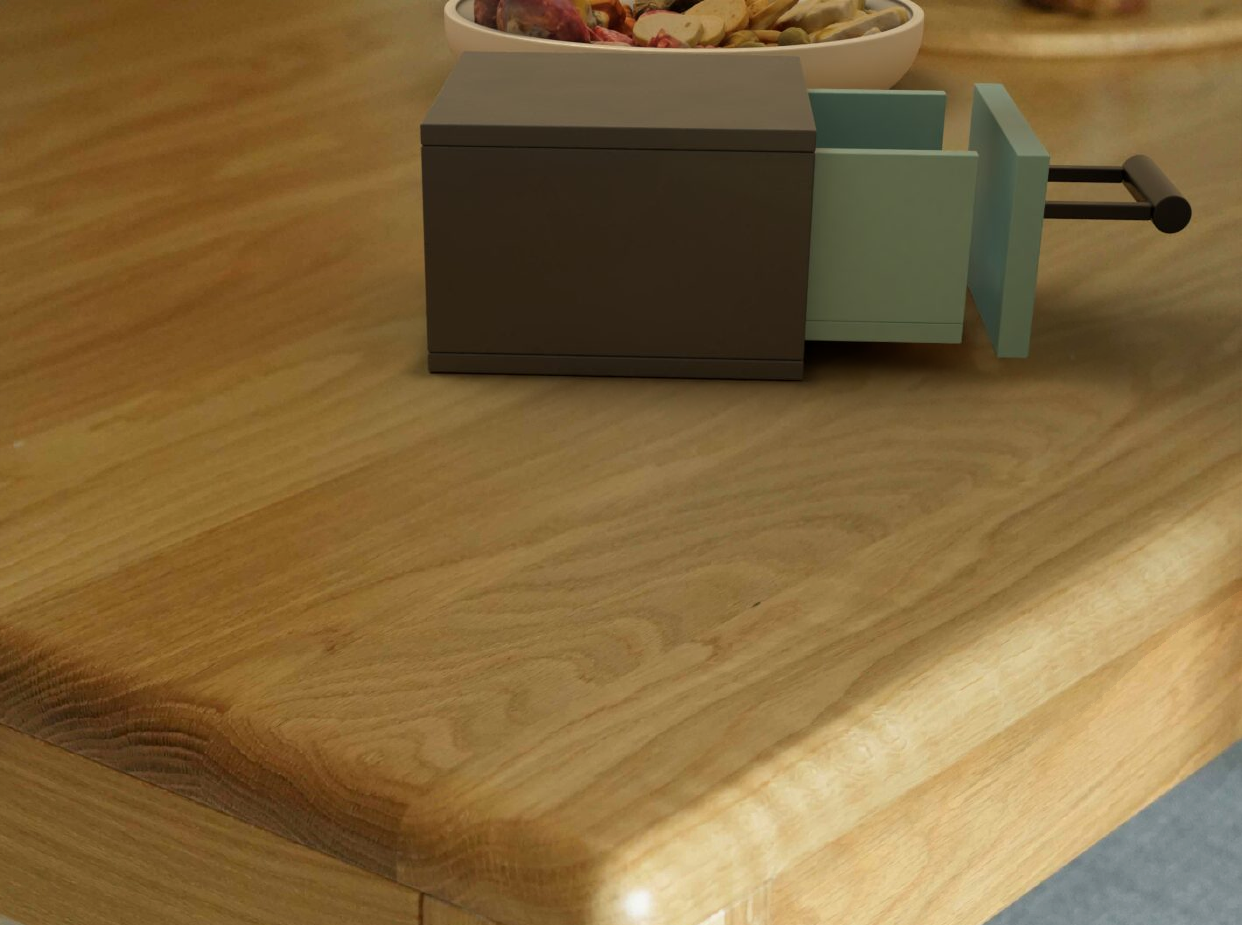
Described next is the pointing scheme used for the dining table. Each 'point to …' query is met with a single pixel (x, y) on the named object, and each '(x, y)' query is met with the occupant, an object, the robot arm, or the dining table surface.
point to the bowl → (706, 32)
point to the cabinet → (618, 215)
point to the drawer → (944, 216)
